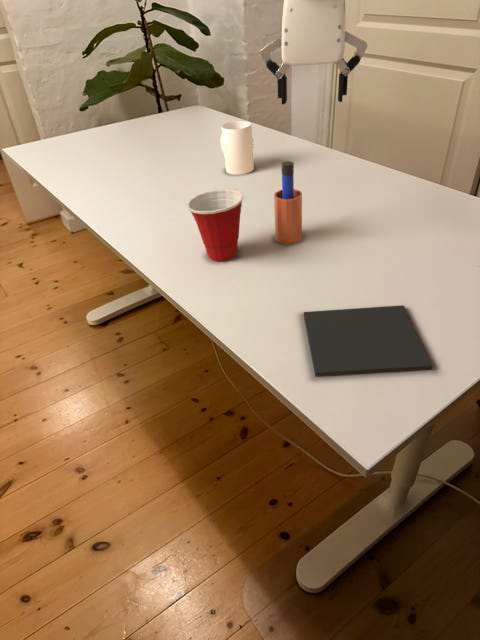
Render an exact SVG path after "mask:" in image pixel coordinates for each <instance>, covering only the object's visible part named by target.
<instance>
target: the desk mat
mask: <svg viewBox="0 0 480 640" xmlns="http://www.w3.org/2000/svg"><path fill="white" fill-rule="evenodd" d="M303 319H304V326H305V330H306V335H307V341H308V345H309V351H310V356H311V362H312V367H313V372H314V376H315V377H330V376H345V375H362V374H363V375H364V374H378V373H379V374H380V373H396V372H411V371H429V370H433V367H434V365H433V363H432V360H431V359H430V356H429V355H428V352H427V350H426V348H425V346H424V344H423V342H422V340H421V338H420V336H419V334H418V332H417V330H416V328H415V326H414V324H413V322H412V319H411V318H410V316H409V314H408V311H407V309H406V308H405V305H389V306H388V305H387V306H374V307H373V306H372V307H358V308H357V307H356V308H345V309H343V308H342V309H330V310H329V309H328V310H314V311H303Z"/></svg>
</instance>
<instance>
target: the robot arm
mask: <svg viewBox="0 0 480 640" xmlns="http://www.w3.org/2000/svg"><path fill="white" fill-rule="evenodd" d="M282 7H283V8H282V16H281V17H282V18H281V35H280V36H278V37H276V38H275V39H273V40H272V41H271V42H269V43H267V44H265V46H263V47H262V48H261V49H260V51H259V54H260V57H261V58H262V60H263V62H264V63H265V65H266V68H267V69H268V70H269V72H271V73H272V75H274V77H275V78H276V79H277V80H276V81H277V99H281V105H285V104H287V102H288V77H287V76H286V72H287V71H288V70H289V68H290V67H301V66H318V65H320V66H321V65H332V64H335V66H336V67H337V68H338V69H339V72H340V73H339V74H338V85H337V87H338V88H337V92H338V93H337V102H339V103H342V102H343V96H347V94H348V82H349V81H348V79H349V78H348V77H349V76H350V74H351V72H352V71H353V70H354V69H355V68H356V67H357V66H358V65H359V64H360V62H361V59H362V58H363V56H364V54H365V52H366V51H367V49H368V43H367V41H365V40H364V39H362V38H360V37H358V36H357V35H354V34H352V33H350V32H349V31H347V30H346V0H283V5H282ZM346 43H347V44H349V45H350V46H352V47H354V48H355V49H356V50H355V52H354V54H353V55H352V56H351V58H350V59H349V60H348V61H346V60H345V57H344V54H345V49H346V48H345V47H346V46H345V45H346ZM280 47H281V48H280ZM278 48H280V49H281V51H280V52H281V61H282V63H281V64H280V65H278V64H277V63H276V61H275V60H273V57H272V53H273V52H274V51H276V50H277V49H278Z"/></svg>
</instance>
